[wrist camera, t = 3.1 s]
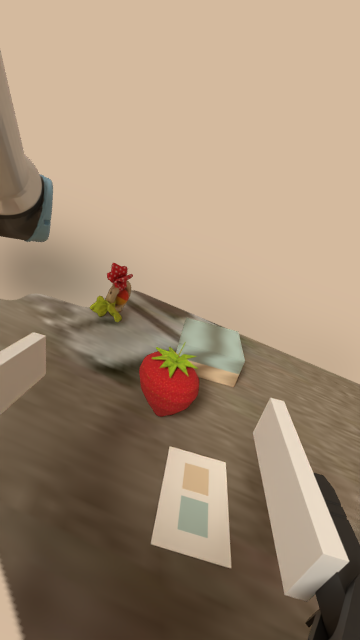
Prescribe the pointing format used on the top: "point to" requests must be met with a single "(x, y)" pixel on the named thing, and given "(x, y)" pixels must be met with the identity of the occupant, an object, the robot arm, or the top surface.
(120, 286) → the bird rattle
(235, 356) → the base brick
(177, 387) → the strawberry
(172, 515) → the page
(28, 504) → the top surface
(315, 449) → the top surface
